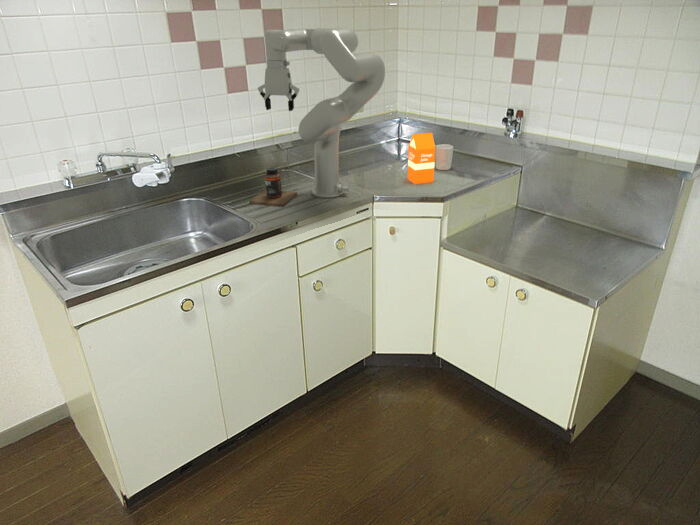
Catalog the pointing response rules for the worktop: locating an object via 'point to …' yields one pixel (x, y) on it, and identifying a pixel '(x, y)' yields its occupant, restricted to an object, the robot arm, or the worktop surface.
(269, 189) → the supplement bottle
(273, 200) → the walnut board
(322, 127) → the robot arm
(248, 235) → the worktop surface
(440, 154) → the white cup
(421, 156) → the orange juice
